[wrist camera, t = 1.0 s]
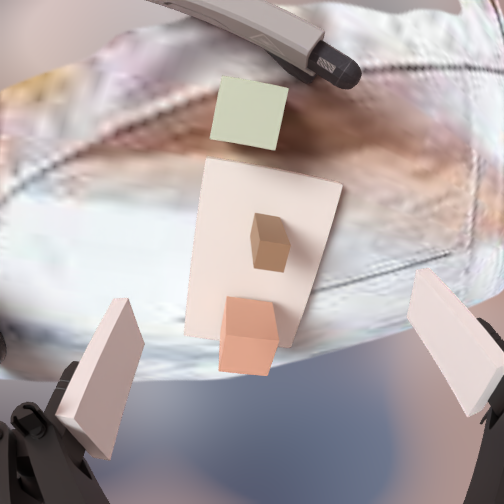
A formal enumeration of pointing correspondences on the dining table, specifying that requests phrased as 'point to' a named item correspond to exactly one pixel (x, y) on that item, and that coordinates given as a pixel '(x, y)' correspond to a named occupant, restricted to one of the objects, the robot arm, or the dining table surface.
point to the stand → (255, 258)
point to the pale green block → (248, 112)
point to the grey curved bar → (276, 37)
